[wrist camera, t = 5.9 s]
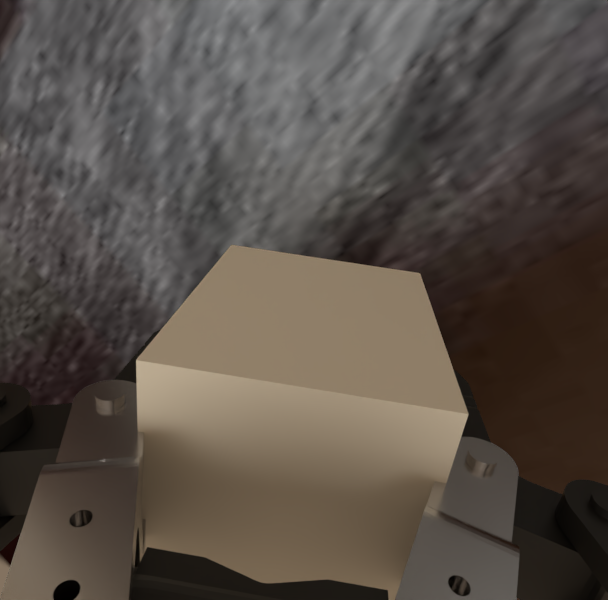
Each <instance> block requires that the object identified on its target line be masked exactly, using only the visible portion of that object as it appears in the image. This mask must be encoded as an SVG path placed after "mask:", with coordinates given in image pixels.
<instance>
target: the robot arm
mask: <svg viewBox="0 0 608 600" xmlns="http://www.w3.org/2000/svg"><path fill="white" fill-rule="evenodd" d="M159 332H160V330H159V331H157V332H155V333H154V334H153V335H152V336H151V337H150V338H149V339H148V341H147V342H146V343H145V346H142V348H141V349H140V350H139V351H138V354H136V355H135V356H134V357H133V358H132V359H131V361H130V362H129V363H128V364H127V365H126V367H125V368H124V369H123V370H122V371H121V372H120V374H119V375H118V376H117V377H116V378H115V379H114V380H107V381H101V382H98V383H95V384H92V385H90V386H88V387H86V388H84V389H83V390H81V391H80V392H79V393H78V394H77V395H76V396H75V398H74V400H73V403H70V404H58V405H36V406H32V405H31V397H30V393H29V392H28V390H27V389H25V388H24V387H22V386H20V385H16V384H11V383H0V551H1V550H2V549H3V548H4V547H5V546H6V545H7V544H8V543H10V542H11V541H12V540H13V539H14V538H15V537H16V536H17V535H18V534H19V533H21V535H20V538H19V541H18V544H17V547H16V550H15V553H14V557H13V560H12V563H11V566H10V569H9V572H8V576H7V579H6V582H5V585H4V588H3V591H2V594H1V597H0V600H389V599H388V590H384V589H378V588H373V587H367V586H362V585H356V584H351V583H345V582H339V581H334V580H328V579H326V580H312V581H298V582H283V583H261V582H258V581H256V580H254V579H251V578H249V577H247V576H245V575H243V574H240V573H238V572H236V571H234V570H232V569H229V568H227V567H225V566H223V565H221V564H219V563H216V562H214V561H212V560H210V559H208V558H205V557H200V556H195V555H189V554H183V553H178V552H172V551H167V550H161V549H156V548H150V547H147V549H146V551H145V547H146V519H142V485H143V468H144V432H138V427H137V383H136V359H137V358H138V357H139V356H140V355H141V353H142V352H143V351H144V350H145V349H146V347H147V346H148V345H149V344H150V343H151V341H152V340H153V339H154V338H155V336H156V335H157V334H158V333H159ZM454 373H455V376H456V379H457V382H458V385H459V388H460V391H461V394H462V396H463V399H464V402H465V405H466V408H467V411H468V414H469V415H468V418H467V421H466V424H465V427H464V430H463V433H462V436H461V439H460V443H459V446H458V449H457V452H456V455H455V458H454V461H453V464H452V467H451V470H450V474H449V477H448V480H447V483H442V482H436V481H434V484H433V487H432V491H431V494H430V497H429V500H428V503H427V505H426V507H425V510H424V513H423V516H422V519H421V522H420V525H419V528H418V531H417V534H416V537H415V540H414V543H413V546H412V549H411V552H410V555H409V558H408V561H407V564H406V567H405V570H404V573H403V576H402V580H401V583H400V586H399V589H398V592H397V595H396V598H395V600H516V597H517V598H519V599H520V600H608V486H606V485H604V484H601V483H598V482H595V481H590V480H575V481H572V482H570V483H568V485H567V486H566V487H565V490H564V492H563V494H559V493H557V492H554V491H552V490H549V489H546V488H544V487H541V486H539V485H536V484H534V483H531V482H529V481H527V480H525V479H523V478H521V477H520V476H518V469H517V466H516V464H515V462H514V461H513V459H512V458H511V457H510V456H509V455H508V454H507V453H506V452H505V451H503V450H502V449H501V448H499V447H498V446H496V445H494V444H492V443H491V442H490V439H489V437H488V434H487V431H486V429H485V426H484V423H483V421H482V418H481V416H480V413H479V410H477V405H476V402H475V400H474V399H473V394H472V392H471V389H470V387H469V384H468V383H467V382H466V380H465V379H464V378H463V377H462V376H461V375H460V374H459V373H458V372H457V371H454Z"/></svg>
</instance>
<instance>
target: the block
mask: <svg viewBox="0 0 608 600" xmlns="http://www.w3.org/2000/svg"><path fill="white" fill-rule="evenodd" d="M136 383H137V427H138V432H144V468H143V485H142V519H146V547H145V551H146V549H147V547H150V548H156V549H161V550H167V551H172V552H178V553H183V554H189V555H195V556H200V557H205V558H208V559H210V560H212V561H214V562H216V563H219V564H221V565H223V566H225V567H227V568H229V569H232V570H234V571H236V572H238V573H240V574H243V575H245V576H247V577H249V578H251V579H254V580H256V581H258V582H261V583H283V582H298V581H312V580H326V579H328V580H334V581H339V582H345V583H351V584H356V585H362V586H367V587H373V588H378V589H384V590H388V599H389V600H395V598H396V595H397V592H398V589H399V586H400V583H401V580H402V576H403V573H404V570H405V567H406V564H407V561H408V558H409V555H410V552H411V549H412V546H413V543H414V540H415V537H416V534H417V531H418V528H419V525H420V522H421V519H422V516H423V513H424V510H425V507H426V505H427V503H428V500H429V497H430V494H431V491H432V487H433V484H434V481H436V482H442V483H447V480H448V477H449V474H450V470H451V467H452V464H453V461H454V458H455V455H456V452H457V449H458V446H459V443H460V439H461V436H462V433H463V430H464V427H465V424H466V421H467V418H468V415H469V414H468V411H467V408H466V405H465V402H464V399H463V396H462V394H461V391H460V388H459V385H458V382H457V379H456V376H455V373H454V370H453V367H452V365H451V362H450V359H449V356H448V353H447V350H446V347H445V344H444V341H443V339H442V336H441V333H440V330H439V327H438V324H437V321H436V318H435V315H434V312H433V310H432V307H431V304H430V301H429V298H428V295H427V292H426V289H425V286H424V283H423V281H422V278H421V275H420V273H415V272H409V271H402V270H396V269H389V268H382V267H376V266H369V265H362V264H356V263H349V262H342V261H336V260H329V259H322V258H316V257H309V256H303V255H296V254H289V253H283V252H276V251H269V250H263V249H256V248H249V247H243V246H236V245H231V246H230V247H229V248H228V250H227V251H226V252H225V253H224V254H223V256H222V257H221V258H220V259H219V261H218V262H217V263H216V264H215V265H214V267H213V268H212V269H211V270H210V271H209V273H208V274H207V275H206V276H205V277H204V279H203V280H202V281H201V282H200V283H199V285H198V286H197V287H196V288H195V289H194V291H193V292H192V293H191V294H190V295H189V297H188V298H187V299H186V300H185V302H184V303H183V304H182V305H181V306H180V308H179V309H178V310H177V311H176V312H175V314H174V315H173V316H172V317H171V318H170V320H169V321H168V322H167V323H166V324H165V326H164V327H163V328H162V329H161V330H160V332H159V333H158V334H157V335H156V336H155V338H154V339H153V340H152V341H151V343H150V344H149V345H148V346H147V347H146V349H145V350H144V351H143V352H142V353H141V355H140V356H139V357H138V358H137V359H136Z"/></svg>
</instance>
